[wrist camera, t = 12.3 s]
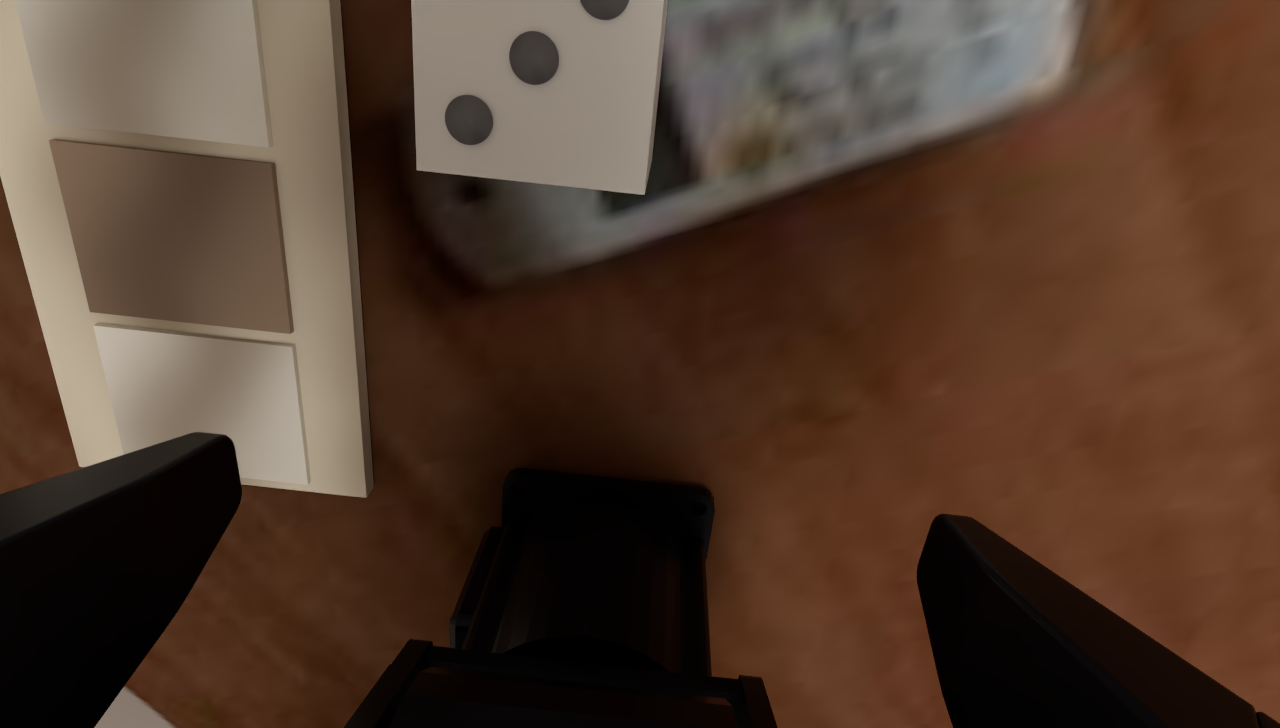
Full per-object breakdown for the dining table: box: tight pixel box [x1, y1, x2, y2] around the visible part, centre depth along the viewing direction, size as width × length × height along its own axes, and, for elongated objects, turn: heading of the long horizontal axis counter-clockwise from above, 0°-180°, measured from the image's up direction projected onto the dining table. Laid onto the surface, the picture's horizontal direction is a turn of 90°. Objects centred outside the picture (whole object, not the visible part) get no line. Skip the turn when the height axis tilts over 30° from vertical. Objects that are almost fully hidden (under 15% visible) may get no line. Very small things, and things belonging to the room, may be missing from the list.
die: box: [411, 0, 668, 195], centre depth 15 cm, size 4×4×5 cm
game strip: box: [0, 0, 374, 498], centre depth 18 cm, size 9×20×1 cm, turn 174°
